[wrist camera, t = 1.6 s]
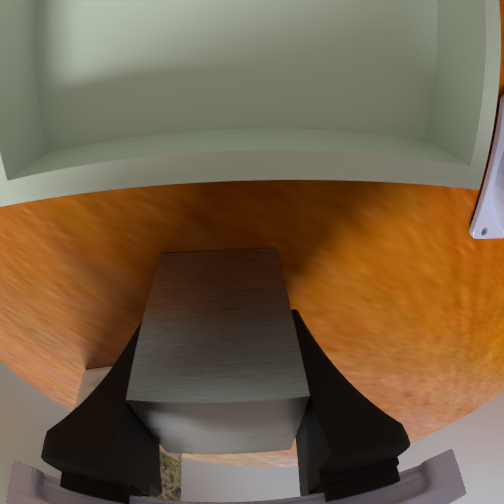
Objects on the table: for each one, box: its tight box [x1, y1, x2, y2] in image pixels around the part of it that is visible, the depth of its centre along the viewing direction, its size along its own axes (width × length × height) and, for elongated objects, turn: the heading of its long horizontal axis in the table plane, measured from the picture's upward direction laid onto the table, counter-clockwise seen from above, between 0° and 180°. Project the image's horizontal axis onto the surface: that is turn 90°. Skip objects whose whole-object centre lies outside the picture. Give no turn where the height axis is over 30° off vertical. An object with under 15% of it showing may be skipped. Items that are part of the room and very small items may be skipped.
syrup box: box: [75, 366, 182, 501], centre depth 13 cm, size 6×6×14 cm
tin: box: [126, 248, 310, 454], centre depth 11 cm, size 5×5×7 cm
